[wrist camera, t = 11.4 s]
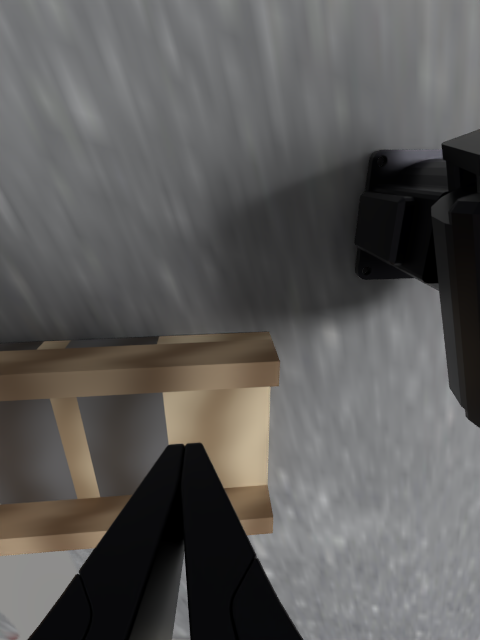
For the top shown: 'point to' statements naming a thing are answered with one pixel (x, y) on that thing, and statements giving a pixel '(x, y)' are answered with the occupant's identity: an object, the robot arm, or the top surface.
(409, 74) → the top surface
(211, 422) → the frame
